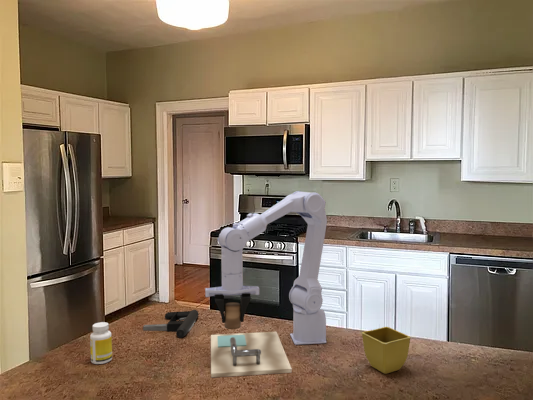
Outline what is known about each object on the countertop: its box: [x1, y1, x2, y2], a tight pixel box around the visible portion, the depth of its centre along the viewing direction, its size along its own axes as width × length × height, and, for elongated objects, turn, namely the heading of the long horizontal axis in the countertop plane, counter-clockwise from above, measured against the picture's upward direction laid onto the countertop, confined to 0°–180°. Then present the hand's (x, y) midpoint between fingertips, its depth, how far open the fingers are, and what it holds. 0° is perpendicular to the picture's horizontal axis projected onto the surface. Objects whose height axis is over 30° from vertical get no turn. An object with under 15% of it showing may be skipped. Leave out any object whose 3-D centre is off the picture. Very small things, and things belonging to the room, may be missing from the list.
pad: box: [218, 335, 247, 348], centre depth 131 cm, size 8×8×1 cm
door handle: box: [142, 309, 200, 339], centre depth 147 cm, size 3×20×16 cm
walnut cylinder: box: [224, 302, 242, 330], centre depth 124 cm, size 4×4×6 cm
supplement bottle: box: [89, 321, 113, 365], centre depth 121 cm, size 5×5×10 cm
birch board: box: [210, 331, 293, 378], centre depth 125 cm, size 20×26×1 cm
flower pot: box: [361, 326, 412, 375], centre depth 115 cm, size 9×9×9 cm
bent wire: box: [230, 337, 261, 366], centre depth 120 cm, size 8×11×4 cm
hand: (232, 321), depth 124 cm, fingers closed on walnut cylinder, 4 cm apart
